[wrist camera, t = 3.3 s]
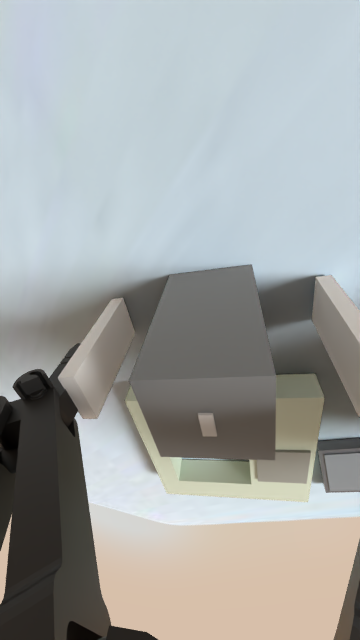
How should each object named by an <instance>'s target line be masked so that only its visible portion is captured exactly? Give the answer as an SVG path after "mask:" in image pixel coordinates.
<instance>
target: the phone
mask: <svg viewBox="0 0 360 640" xmlns="http://www.w3.org/2000/svg"><path fill="white" fill-rule="evenodd" d="M317 451H318V457H319V462H320V468H321V473H322V479H323V484H324V487H325V491H326V493H329V492H360V438H354V439H341V440H328V441H318V442H317Z"/></svg>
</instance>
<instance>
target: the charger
mask: <svg viewBox="0 0 360 640" xmlns="http://www.w3.org/2000/svg"><path fill="white" fill-rule="evenodd" d="M129 382H130V385H131V387H132V389H133V392H134V394H135V397H136V399H137V401H138V404H139V406H140V409H141V411H142V413H143V416H144V418H145V421H146V423H147V425H148V428H149V430H150V432H151V435H152V437H153V440H154V442H155V444H156V447H157V449H158V452H159V454H160V456H161V457H182V458H214V459H246V460H275V441H276V373H275V368H274V364H273V359H272V355H271V350H270V345H269V341H268V336H267V332H266V327H265V323H264V318H263V313H262V309H261V304H260V300H259V295H258V291H257V286H256V281H255V277H254V272H253V268H252V265H244V266H236V267H227V268H219V269H211V270H203V271H195V272H187V273H178V274H170V275H169V278H168V281H167V283H166V286H165V288H164V291H163V294H162V296H161V299H160V301H159V304H158V307H157V309H156V312H155V314H154V317H153V320H152V322H151V325H150V327H149V330H148V332H147V335H146V338H145V340H144V343H143V345H142V348H141V351H140V353H139V356H138V358H137V361H136V364H135V366H134V369H133V371H132V374H131V377H130V379H129Z"/></svg>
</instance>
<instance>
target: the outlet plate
mask: <svg viewBox="0 0 360 640" xmlns="http://www.w3.org/2000/svg"><path fill="white" fill-rule="evenodd" d="M324 398H325V397H324V395H323V392H322V390H321V387H320V384H319V382H318V379H317V377H316V374H315V373H313V374H285V375H276V441H275V460H249V461H221V460H189V459H181V457H161V456H160V454H159V452H158V449H157V447H156V444H155V442H154V440H153V437H152V435H151V432H150V430H149V428H148V425H147V423H146V421H145V418H144V416H143V413H142V411H141V409H140V406H139V404H138V401H137V399H136V397H135V394H134V392H133V389H132V387H131V385H130V388H129V391H128V394H127V396H126V399H125V403H126V405H127V407H128V409H129V412H130V414H131V416H132V418H133V420H134V422H135V425H136V427H137V429H138V431H139V433H140V436H141V438H142V440H143V442H144V444H145V446H146V449H147V451H148V453H149V455H150V457H151V460H152V462H153V464H154V466H155V468H156V471H157V473H158V475H159V477H160V479H161V481H162V484H163V486H164V488H165V490H166V492H167V494H182V495H198V496H215V497H231V498H248V499H264V500H281V501H297V502H308V499H309V493H310V486H311V480H312V474H313V467H314V461H315V455H316V449H317V442H318V436H319V430H320V423H321V417H322V411H323V404H324Z"/></svg>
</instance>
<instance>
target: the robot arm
mask: <svg viewBox="0 0 360 640" xmlns="http://www.w3.org/2000/svg"><path fill="white" fill-rule="evenodd" d="M312 322H313V324H314V326H315V328H316V330H317V332H318V334H319V336H320V338H321V340H322V342H323V344H324V346H325V349H326V351H327V353H328V355H329V357H330V359H331V361H332V363H333V365H334V367H335V369H336V371H337V373H338V375H339V378H340V380H341V382H342V384H343V386H344V388H345V390H346V392H347V394H348V396H349V398H350V400H351V402H352V404H353V407H354V409H355V411H356V413H357V415H358V417H359V418H360V311H359V310H358V308H357V307H356V306H355V304H354V303H353V302H352V301H351V299H350V298H349V297H348V295H347V294H346V293H345V292H344V290H343V289H342V288H341V287H340V285H339V284H338V283H337V281H336V280H335V279H334V278H333V276H332V275H328V276H319V277H316V279H315V290H314V300H313V311H312ZM134 336H135V331H134V328H133V325H132V322H131V319H130V316H129V313H128V310H127V308H126V305H125V302H124V299H123V298H117V299H111V301H110V302H109V304H108V305H107V307H106V308H105V309H104V311H103V312H102V314H101V315H100V317H99V318H98V320H97V321H96V323H95V324H94V325H93V327H92V328H91V330H90V331H89V333H88V334H87V336H86V337H85V339H84V340H83V341H82V343H79V344H76V345H75V346H74V347H73V348H71V349H70V350H69V351H68V353H67V354H66V356H65V358H63V360H62V361H61V364H59V365H58V367H57V368H56V369H55V371H54V372H53V374H52V375H51V376H50V378H48V376H47V375H46V373H45V372H44V371H43V370H41V369H35V370H32V371H29V372H27V373H25V374H23V375H22V376H21V377H19V378H18V379H17V380H16V382H15V383H14V385H13V388H14V390H15V391H16V392H17V394H18V395H19V396H20V398H21V399H20V400H16V401H13V402H8V400H7V399H6V398H5V397H4V396H0V551H1V547H2V544H3V541H4V538H5V534H6V531H7V528H8V524H9V521H10V518H11V515H12V522H11V533H10V543H9V554H8V566H7V575H6V587H5V594H4V599H3V601H2V603H1V604H0V640H158V639H156V638H155V637H153V636H152V635H150V634H149V633H147V632H142V631H137V630H131V629H126V628H120V627H114V626H111V622H110V617H109V614H108V610H107V608H106V605H105V603H104V601H103V598H102V594H101V590H100V583H99V576H98V569H97V562H96V556H95V547H94V541H93V533H92V526H91V519H90V512H89V504H88V497H87V490H86V483H85V476H84V469H83V461H82V454H81V447H80V440H79V433H78V426H77V422H76V420H75V418H74V417H75V415H76V413H77V412H79V413H80V415H81V417H82V418H83V419H98V416H99V414H100V412H101V410H102V407H103V405H104V403H105V401H106V398H107V396H108V394H109V392H110V389H111V387H112V385H113V383H114V380H115V378H116V376H117V374H118V371H119V369H120V367H121V365H122V362H123V360H124V358H125V356H126V354H127V351H128V349H129V347H130V345H131V342H132V340H133V338H134ZM334 640H360V540H359V544H358V548H357V552H356V556H355V560H354V564H353V568H352V572H351V576H350V580H349V584H348V587H347V591H346V595H345V600H344V603H343V607H342V611H341V615H340V619H339V623H338V627H337V630H336V634H335V637H334Z"/></svg>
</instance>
